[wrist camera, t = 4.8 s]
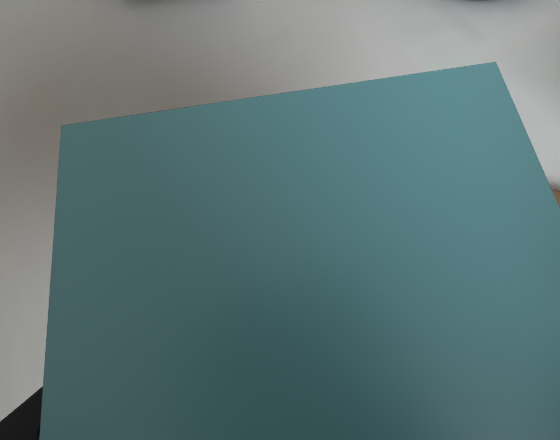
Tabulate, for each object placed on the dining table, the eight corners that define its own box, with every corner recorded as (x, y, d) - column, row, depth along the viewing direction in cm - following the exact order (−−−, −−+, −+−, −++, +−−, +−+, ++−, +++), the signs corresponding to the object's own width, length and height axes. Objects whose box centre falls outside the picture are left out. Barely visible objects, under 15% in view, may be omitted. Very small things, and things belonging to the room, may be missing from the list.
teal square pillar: (358, 339, 14) (758, 664, 2) (246, 356, 14) (15, 790, 2) (335, 229, 15) (496, 61, 4) (234, 245, 15) (61, 125, 4)
